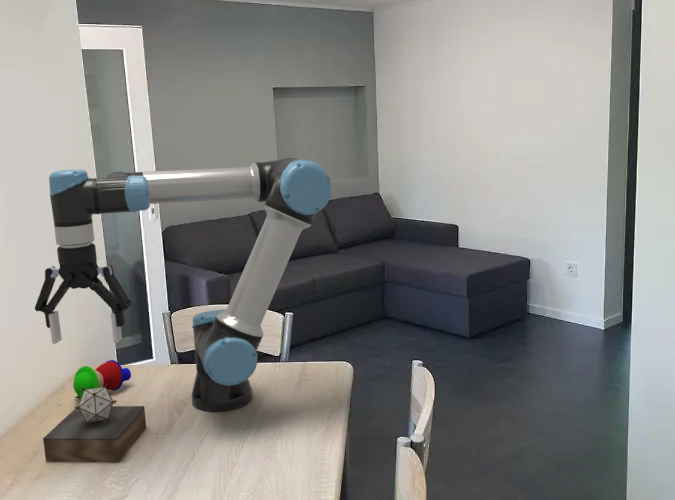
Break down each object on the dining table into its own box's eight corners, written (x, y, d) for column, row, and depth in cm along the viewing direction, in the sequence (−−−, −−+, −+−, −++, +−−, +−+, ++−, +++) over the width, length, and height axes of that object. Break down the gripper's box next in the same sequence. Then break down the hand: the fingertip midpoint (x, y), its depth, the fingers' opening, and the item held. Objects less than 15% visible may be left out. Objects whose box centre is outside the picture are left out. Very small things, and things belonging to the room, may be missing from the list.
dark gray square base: (146, 427, 157) (144, 406, 156) (119, 462, 141) (116, 438, 140) (80, 427, 158) (77, 406, 157) (46, 462, 143) (42, 438, 142)
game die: (103, 440, 148) (99, 417, 141) (69, 425, 149) (63, 401, 142) (126, 407, 154) (123, 383, 147) (93, 392, 155) (88, 369, 148)
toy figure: (111, 392, 185) (65, 403, 172) (109, 357, 186) (63, 366, 172) (134, 394, 181) (89, 406, 168) (133, 358, 181) (88, 367, 168)
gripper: (140, 239, 144) (149, 334, 148) (28, 242, 146) (40, 336, 150) (127, 246, 136) (137, 346, 141) (9, 249, 139) (22, 347, 143)
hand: (87, 341), depth 145 cm, fingers open, 13 cm apart
